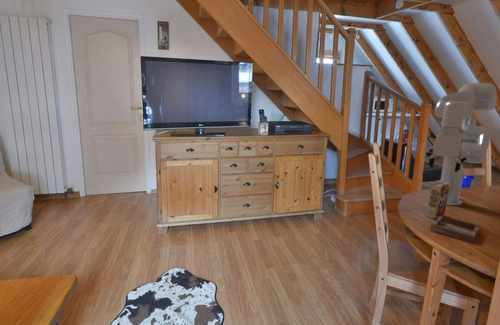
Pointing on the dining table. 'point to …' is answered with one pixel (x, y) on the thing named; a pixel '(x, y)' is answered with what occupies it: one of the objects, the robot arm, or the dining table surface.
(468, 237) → the tray
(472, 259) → the dining table surface
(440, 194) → the candy box
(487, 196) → the dining table surface
